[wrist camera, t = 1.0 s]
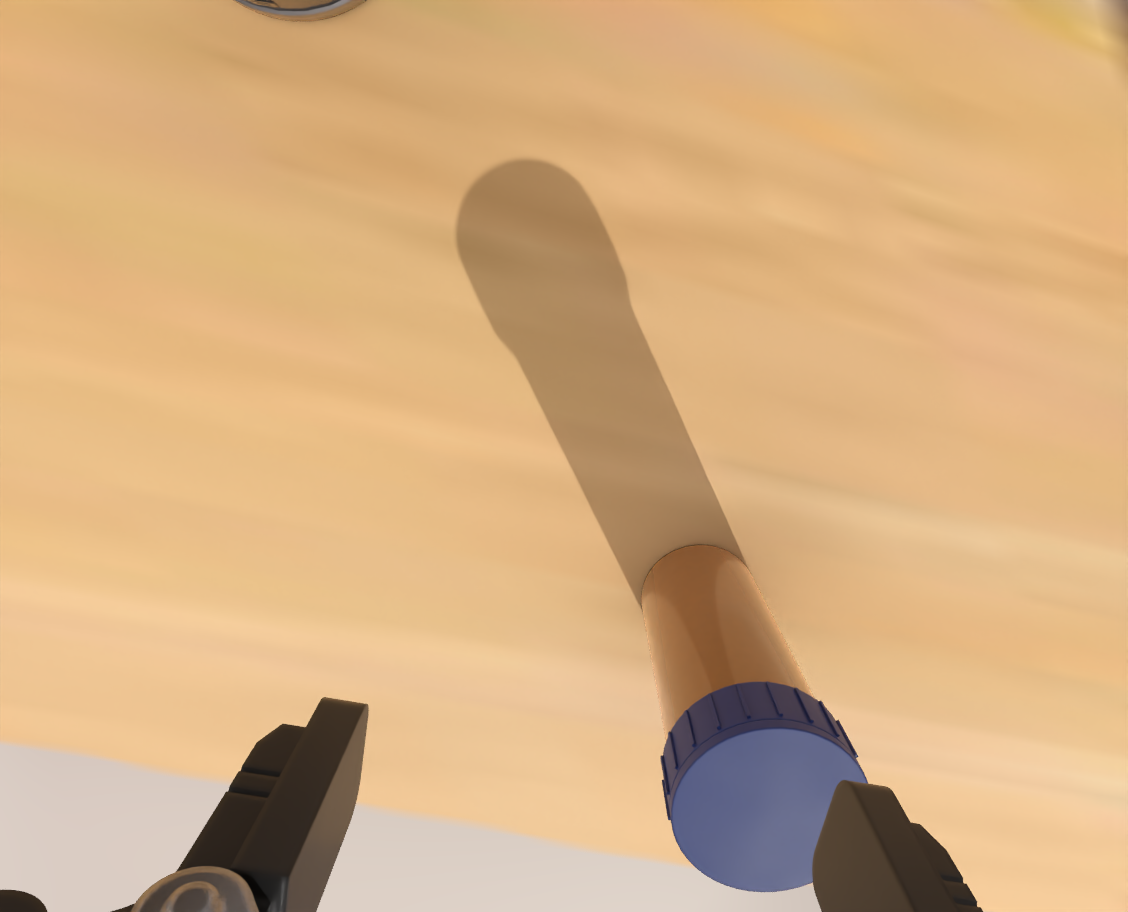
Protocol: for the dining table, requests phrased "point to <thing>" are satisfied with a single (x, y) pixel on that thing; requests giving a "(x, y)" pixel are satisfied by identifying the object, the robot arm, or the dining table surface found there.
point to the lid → (754, 783)
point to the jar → (710, 630)
